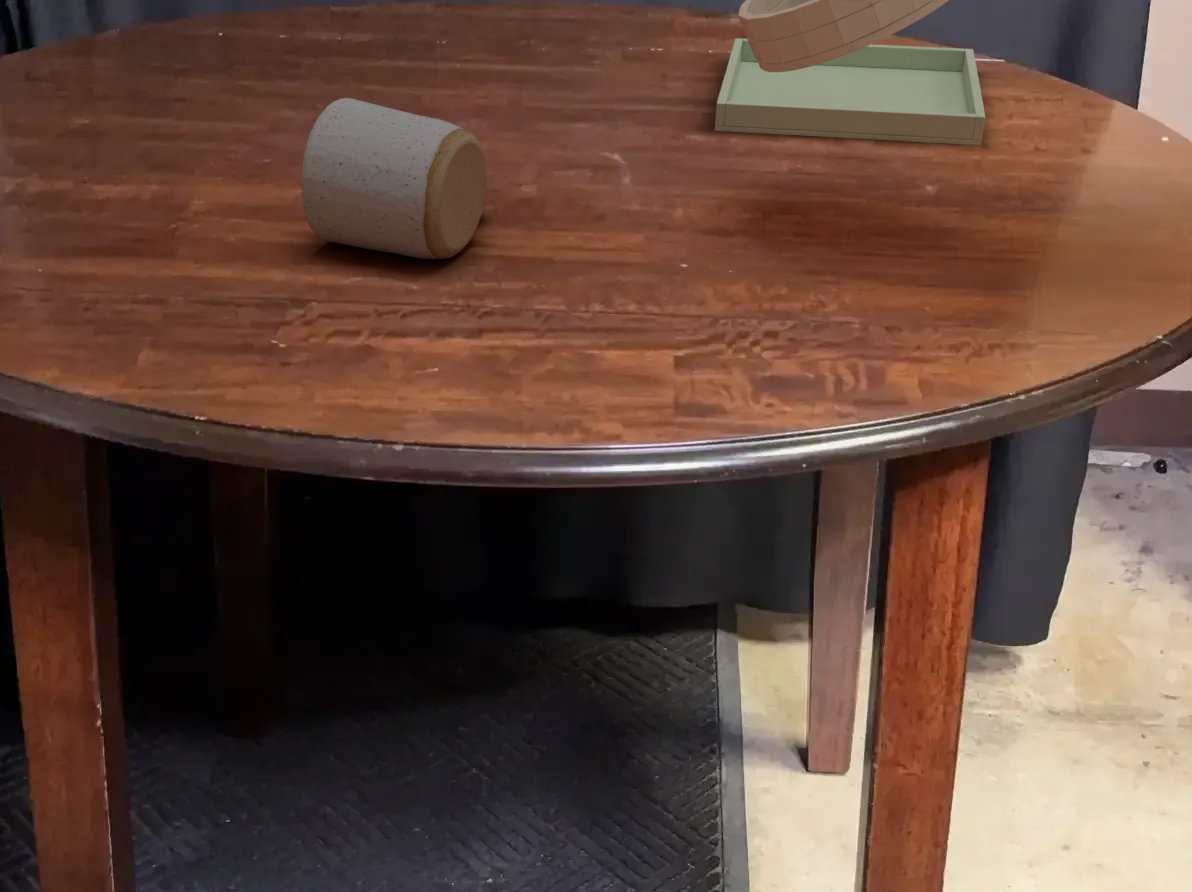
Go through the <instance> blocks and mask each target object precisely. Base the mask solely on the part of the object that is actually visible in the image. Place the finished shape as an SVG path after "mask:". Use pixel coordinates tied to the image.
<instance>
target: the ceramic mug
mask: <svg viewBox="0 0 1192 892" xmlns="http://www.w3.org/2000/svg"><path fill="white" fill-rule="evenodd" d="M302 159H303V160H302V169H301V171H302V172H301V197H302V204H303V209H304V214H305V218H306V220H307V223H308V225H309V227H310V229H311V230H312V232H313V233H314V234H315V235H316V236H317V237H318V238H319V239H321V240H323V241H325V242H329V243H333V244H340V245H345V246H350V247H351V246H352V247H355V248H356V247H357V248H361V249H366V250H372V251H377V252H384V253H389V254H396V255H401V256H405V257H410V258H417V259H422V260H446V259H450V258H452V257H454V256H456V255H457V254H459V253H460V252H461V251H462V250H463V249H464V248H465V247H466V246H468V244H469V243H470V241H471V239H472V238H473V237H474V235H475V232H476V231H477V228H478V225H479V224H480V220H481V217H482V214H483V210H484V205H485V199H486V193H487V185H488V184H487V183H488V182H487V181H488V180H487V179H488V178H487V177H488V173H487V172H488V171H487V162H486V157H485V154H484V151H483V149H482V147H481V144H480V142H479V140H478V139H477V138H476V136H475V135H474V134H473V133H472V132H470V131H469V130H467V129H465V128H462V127H461V126H458V125H456V124H454V123H452V122H449V121H446V120H442V119H439V118H433V117H429V116H425V115H420V114H415V113H411V112H408V111H407V112H406V111H403V110H400V109H395V108H391V107H387V106H382V105H379V104H375V103H371V102H367V101H364V100H359V99H356V98H350V97H344V98H339V99H336V100H334V101H332V102H331V103H330V104H329V105H327V106H325V108H324V109H323V111H322V112H321V114H320V115H319V116H318V117H317V119H316V121H314V124H313V126H312V128H311V131H310V133H309V136H308V140H307V143H306V145H305V150H304V153H303V158H302Z"/></svg>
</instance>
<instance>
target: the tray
mask: <svg viewBox="0 0 1192 892" xmlns="http://www.w3.org/2000/svg"><path fill="white" fill-rule="evenodd" d="M731 48H732V49H731V52H730V55H729V59H728V64H727V66H726V70H725V73H724V76H723V80H722V83H721V86H720V90H719V94H718V97H717V100H716V105H715V106H716V107H715V119H714V125H715V126H714V131H715V132H729V133H730V132H733V133H751V134H770V135H787V136H805V137H806V136H808V137H820V138H821V137H824V138H841V139H859V140H860V139H861V140H879V141H895V142H914V143H915V142H916V143H931V144H933V143H934V144H948V145H949V144H950V145H951V144H952V145H968V146H981V145H982V140H983V135H984V131H985V130H984V129H985V123H986V118H987V117H986V111H985V107H984V100H983V96H982V95H983V94H982V89H981V85H980V79H979V74H978V73H979V72H978V69H977V62H976V56H975V51H974V49H973V48H962V47H961V48H957V47H937V46H914V45H892V44H874V43H873V44H871V45H868V46H866V47H864V48H861V49H859V50H857V51H854V52H852V53H849V54H846V55H844V56H841V57H838V58H836V59H833V60H830V61H827V62H824V63H821V64H817V65H814V66H810V67H807V68H802V69H798V70H793V71H787V72H767V71H764V70H762V69H761V68H760V66H759V64H758V62H757V60H756V59H755V57H754V55H753V52H752V50H751V47H750V45H749V42H748V39H747V38H737V37H735V39H734V42H733V45H732V47H731Z"/></svg>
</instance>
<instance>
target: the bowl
mask: <svg viewBox="0 0 1192 892" xmlns="http://www.w3.org/2000/svg"><path fill="white" fill-rule="evenodd" d="M949 1H950V0H745V1H744V2H743V3H742V4H741V5H740V7H739V10H738V15H737V16H738V19H739V22H740V25H741V26H742V29H743V31H744V34H745V37H746V39H748V42H749V45H750V47H751V50H752V52H753V55H754V57H755V59H756V60H757V62H758V64H759V66H760V68H761V69H762V70H764V71H767V72H787V71H793V70H798V69H802V68H807V67H810V66H814V65H817V64H821V63H824V62H827V61H830V60H833V59H836V58H838V57H841V56H844V55H846V54H849V53H852V52H854V51H857V50H859V49H861V48H864V47H866V46H868V45H871V44H873V45H874V44H875V43H877V42H879V41H882V40H883V39H886V38H888V37H890V36H892V35H894V34H896V33H898V32H900V31H902V30H903V29H906V28H907V27H909V26H911V25H912V24H915V23H916V22H918V21H921V19H923V18H925V17H927V16H928V15H930V14H932V13H933V12H934V11H936V10H938V9H939V8H940V7H942V6H944V5H945V4H946V3H948V2H949Z"/></svg>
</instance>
